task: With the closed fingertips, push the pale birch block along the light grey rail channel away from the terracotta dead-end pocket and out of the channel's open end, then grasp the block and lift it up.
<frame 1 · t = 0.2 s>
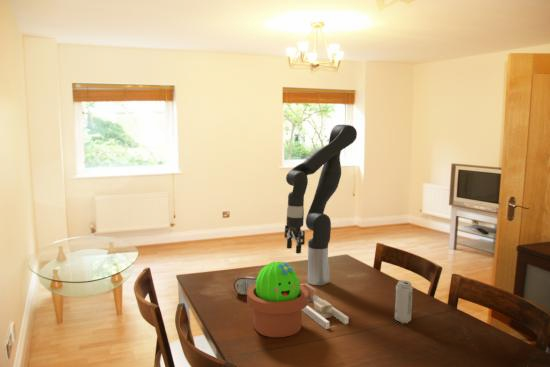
hand: (293, 250, 194), 17 cm above the table, tool pointing down, fingers open, 8 cm apart
block: (322, 315, 168), resting in rail channel
energy drink can: (402, 321, 164), on the table
rail channel: (315, 310, 172), on the table
tin: (250, 295, 188), on the table
potted cactus: (277, 327, 158), on the table
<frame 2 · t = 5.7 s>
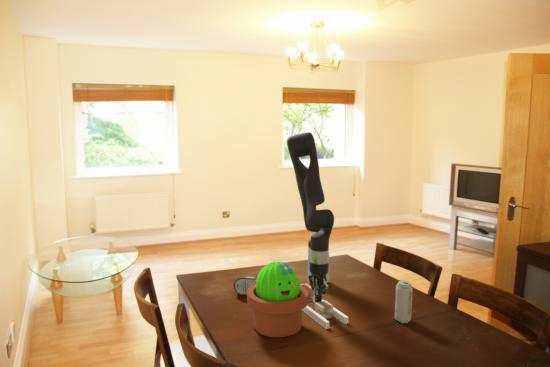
hand: (318, 302, 170), 4 cm above the table, tool pointing down, fingers closed
block: (323, 316, 167), resting in rail channel, touching gripper
everything else where it was.
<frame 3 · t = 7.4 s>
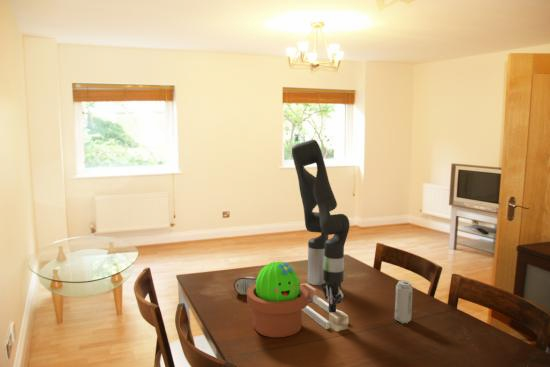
hand: (332, 312, 161), 4 cm above the table, tool pointing down, fingers closed
block: (338, 327, 158), on the table, touching gripper
everything else where it was.
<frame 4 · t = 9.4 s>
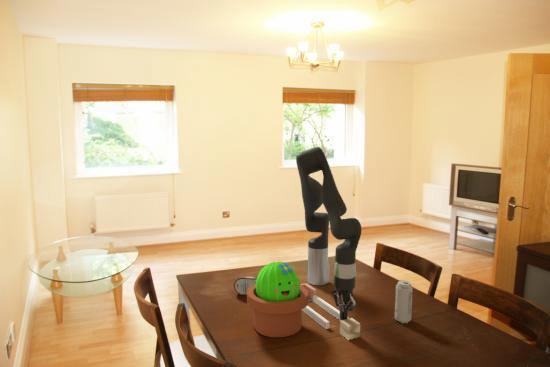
hand: (343, 320, 155), 4 cm above the table, tool pointing down, fingers closed
block: (349, 335, 152), on the table, touching gripper
everything else where it was.
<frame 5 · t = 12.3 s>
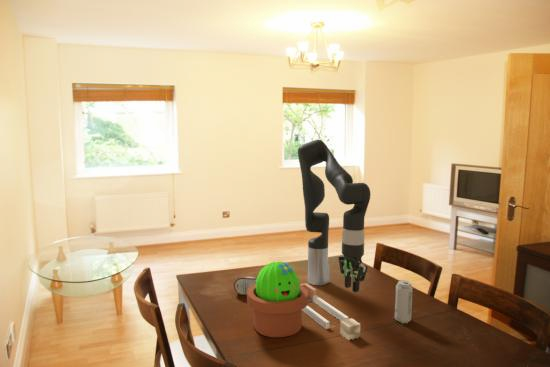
hand: (351, 289, 149), 17 cm above the table, tool pointing down, fingers open, 4 cm apart
block: (349, 335, 152), on the table
everything else where it was.
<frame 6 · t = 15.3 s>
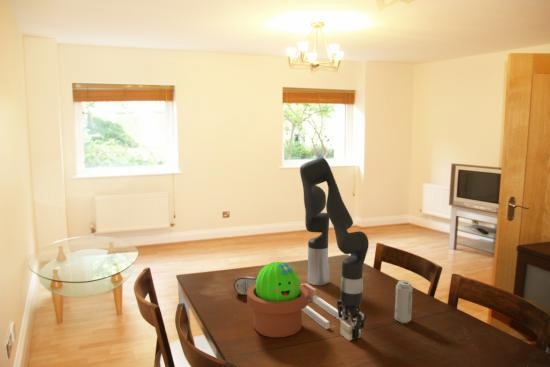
hand: (350, 334, 152), 0 cm above the table, tool pointing down, fingers closed on block, 5 cm apart
block: (350, 335, 152), on the table, touching gripper
everything else where it was.
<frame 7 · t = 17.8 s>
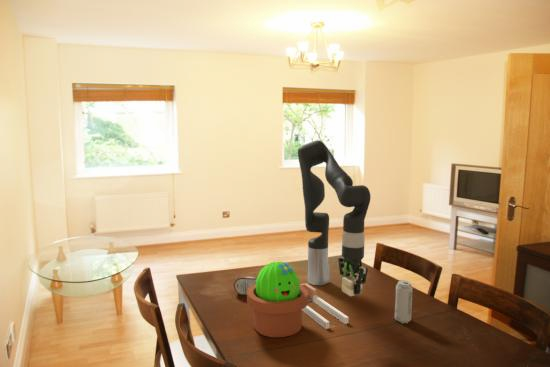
hand: (351, 290, 149), 17 cm above the table, tool pointing down, fingers closed on block, 5 cm apart
block: (351, 292, 149), point 16 cm above the table, touching gripper
everything else where it was.
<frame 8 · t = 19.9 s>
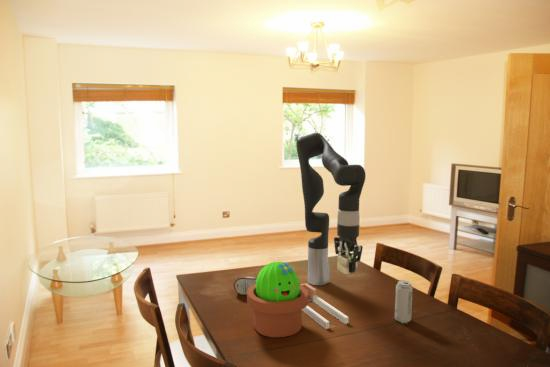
hand: (347, 269, 151), 23 cm above the table, tool pointing down, fingers closed on block, 5 cm apart
block: (347, 270, 151), point 23 cm above the table, touching gripper
everything else where it was.
at the end: the gripper is holding block; block point 22.8 cm above the table; block inside the target area (2.5 cm from its centre), point 22.8 cm above the table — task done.
